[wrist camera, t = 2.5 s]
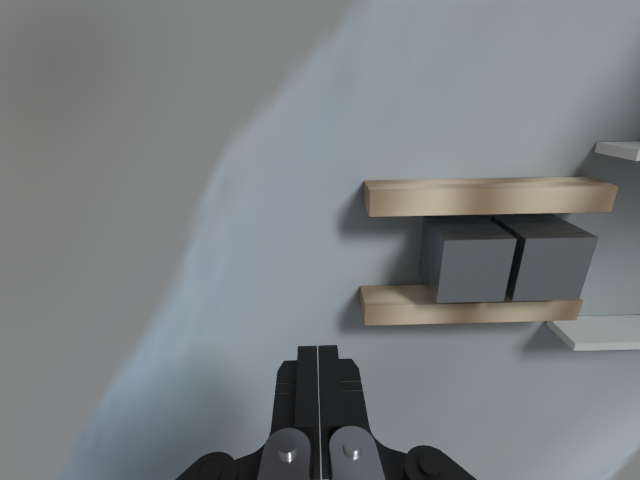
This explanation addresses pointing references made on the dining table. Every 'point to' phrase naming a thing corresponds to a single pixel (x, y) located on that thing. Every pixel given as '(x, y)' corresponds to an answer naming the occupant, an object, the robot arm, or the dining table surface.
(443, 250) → the dark gray rectangular block
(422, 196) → the slotted rail
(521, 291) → the dark gray cube
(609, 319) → the tray
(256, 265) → the dining table surface
